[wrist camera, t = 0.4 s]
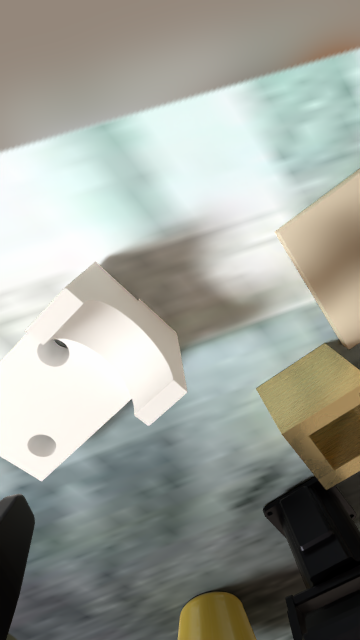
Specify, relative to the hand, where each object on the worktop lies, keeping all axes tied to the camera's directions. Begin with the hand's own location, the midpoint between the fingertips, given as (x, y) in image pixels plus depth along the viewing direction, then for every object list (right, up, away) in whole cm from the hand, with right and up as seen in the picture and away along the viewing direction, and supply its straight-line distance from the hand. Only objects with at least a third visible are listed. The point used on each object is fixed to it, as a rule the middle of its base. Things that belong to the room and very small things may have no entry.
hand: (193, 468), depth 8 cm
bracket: (-8, +1, +14) cm, 16 cm away
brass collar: (+10, -2, +16) cm, 18 cm away
